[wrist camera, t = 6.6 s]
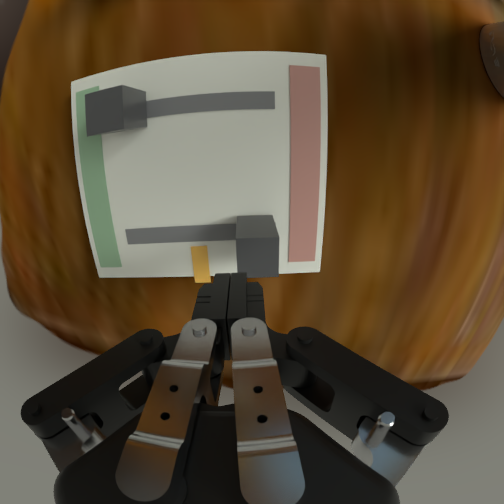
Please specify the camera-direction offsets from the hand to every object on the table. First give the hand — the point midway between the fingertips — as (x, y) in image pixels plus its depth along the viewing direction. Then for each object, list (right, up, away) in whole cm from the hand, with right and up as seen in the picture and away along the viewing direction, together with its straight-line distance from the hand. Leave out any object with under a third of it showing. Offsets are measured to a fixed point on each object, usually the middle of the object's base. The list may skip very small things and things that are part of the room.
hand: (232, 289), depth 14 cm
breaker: (-7, +11, +2) cm, 13 cm away
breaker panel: (-3, +8, +6) cm, 11 cm away
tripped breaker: (+1, +3, +6) cm, 7 cm away
